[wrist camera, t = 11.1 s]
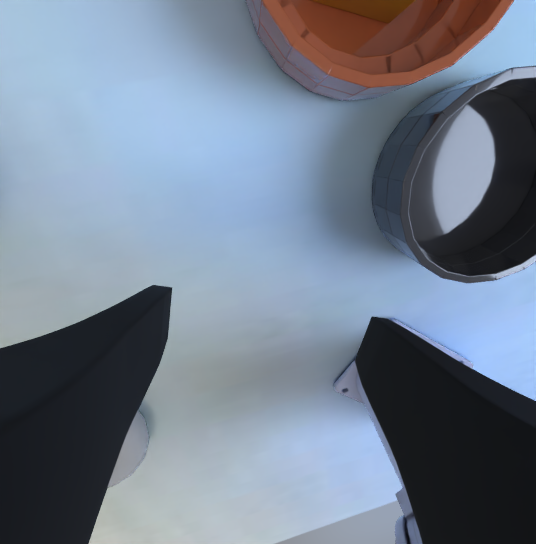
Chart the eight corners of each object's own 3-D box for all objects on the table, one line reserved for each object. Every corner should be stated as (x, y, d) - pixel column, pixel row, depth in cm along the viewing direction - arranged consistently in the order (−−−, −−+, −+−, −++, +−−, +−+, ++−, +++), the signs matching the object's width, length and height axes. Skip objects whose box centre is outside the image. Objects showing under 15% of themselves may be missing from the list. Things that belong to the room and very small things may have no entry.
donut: (154, 461, 28) (154, 381, 24) (142, 502, 25) (140, 418, 21) (39, 457, 27) (20, 372, 23) (12, 500, 23) (-16, 409, 20)
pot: (572, 151, 19) (649, 151, 15) (452, 284, 22) (493, 311, 19) (455, 39, 16) (517, 7, 13) (338, 210, 20) (359, 225, 16)
